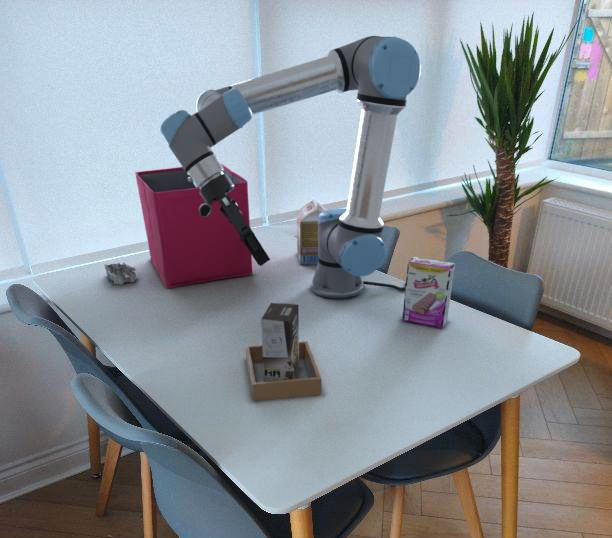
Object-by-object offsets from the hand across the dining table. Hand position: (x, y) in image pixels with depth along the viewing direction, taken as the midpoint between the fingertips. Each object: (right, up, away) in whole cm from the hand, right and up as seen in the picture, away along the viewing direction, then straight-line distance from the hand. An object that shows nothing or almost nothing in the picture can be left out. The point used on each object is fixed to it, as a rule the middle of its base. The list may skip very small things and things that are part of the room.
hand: (264, 262), depth 141 cm
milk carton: (+13, +15, +60) cm, 63 cm away
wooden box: (+4, -27, -5) cm, 28 cm away
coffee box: (+4, -27, -5) cm, 28 cm away
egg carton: (-47, +5, +45) cm, 66 cm away
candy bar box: (+41, -12, +19) cm, 47 cm away
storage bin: (-25, +10, +53) cm, 59 cm away
